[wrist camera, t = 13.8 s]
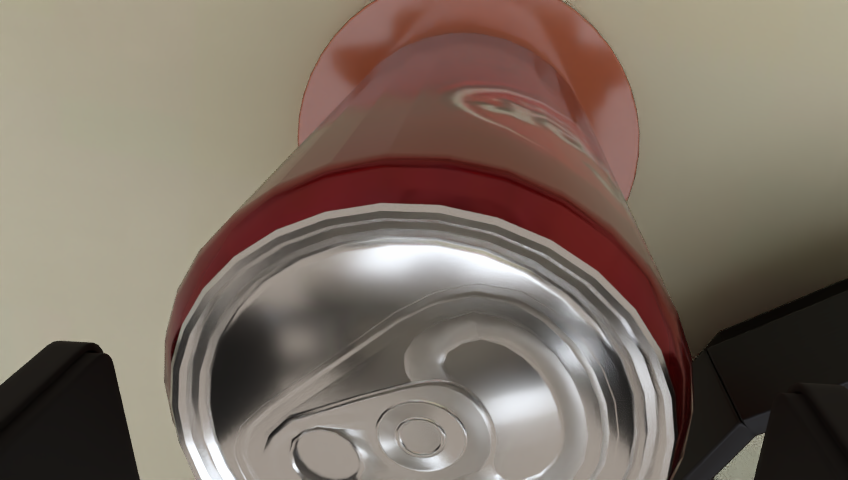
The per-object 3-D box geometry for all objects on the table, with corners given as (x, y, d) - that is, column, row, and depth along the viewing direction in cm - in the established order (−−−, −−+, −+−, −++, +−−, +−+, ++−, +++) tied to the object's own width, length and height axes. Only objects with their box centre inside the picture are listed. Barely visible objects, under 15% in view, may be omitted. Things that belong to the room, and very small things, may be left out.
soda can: (559, -7, 17) (655, 93, 6) (611, 238, 20) (743, 601, 9) (305, 72, 19) (37, 260, 8) (386, 289, 21) (269, 649, 11)
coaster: (415, 341, 23) (414, 350, 22) (236, 95, 20) (230, 99, 19) (693, 207, 20) (698, 214, 19) (531, -109, 17) (531, -110, 16)
